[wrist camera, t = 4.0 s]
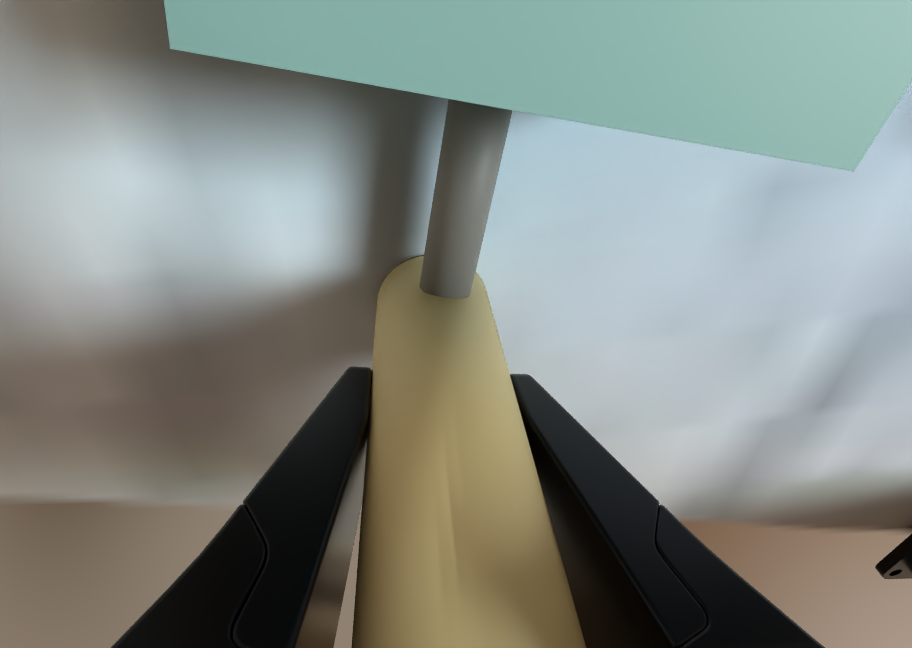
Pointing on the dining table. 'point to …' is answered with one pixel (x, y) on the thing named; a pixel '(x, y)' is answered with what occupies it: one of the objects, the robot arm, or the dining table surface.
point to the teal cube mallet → (464, 221)
